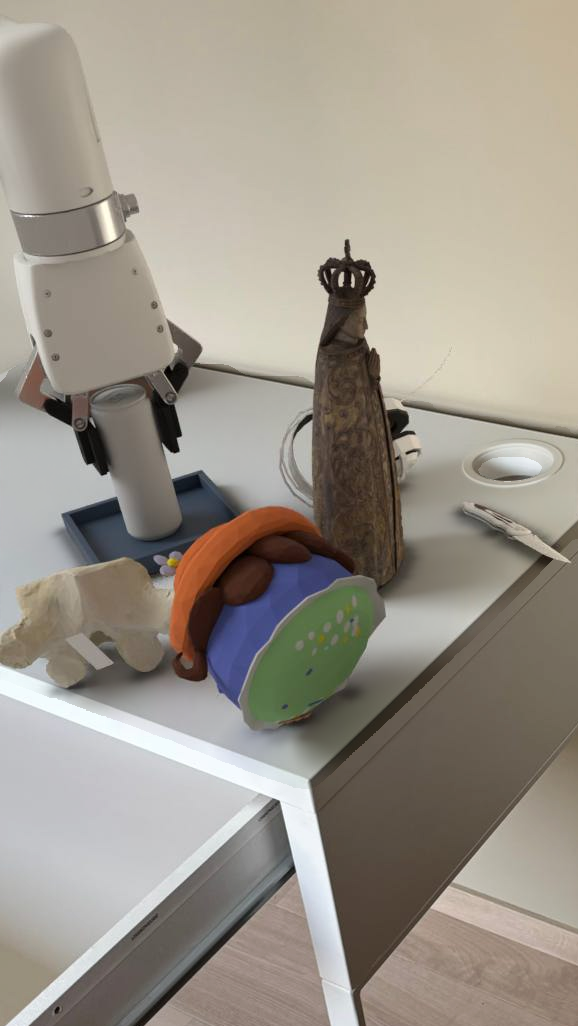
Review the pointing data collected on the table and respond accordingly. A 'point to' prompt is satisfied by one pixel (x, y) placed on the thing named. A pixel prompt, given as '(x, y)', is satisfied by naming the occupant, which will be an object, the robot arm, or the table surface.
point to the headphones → (403, 442)
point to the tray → (108, 540)
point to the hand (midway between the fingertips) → (135, 456)
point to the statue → (353, 432)
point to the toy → (266, 615)
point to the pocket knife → (510, 529)
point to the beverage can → (136, 461)
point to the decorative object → (89, 618)
